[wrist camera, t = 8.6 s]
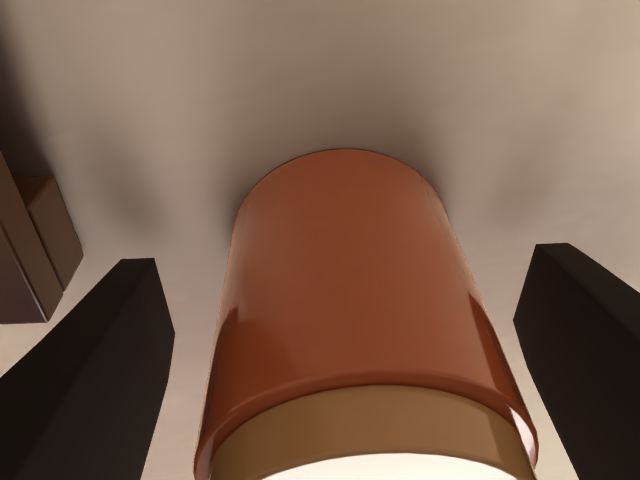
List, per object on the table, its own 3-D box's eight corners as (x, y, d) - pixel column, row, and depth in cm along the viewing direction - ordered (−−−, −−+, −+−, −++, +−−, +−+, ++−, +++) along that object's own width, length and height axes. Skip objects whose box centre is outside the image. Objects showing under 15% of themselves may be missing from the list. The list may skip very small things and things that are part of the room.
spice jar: (433, 315, 12) (518, 604, 8) (245, 322, 12) (211, 618, 8) (462, 143, 10) (624, 428, 5) (218, 151, 10) (139, 449, 5)
